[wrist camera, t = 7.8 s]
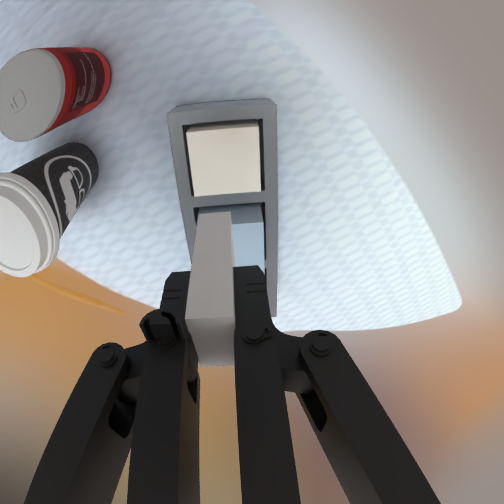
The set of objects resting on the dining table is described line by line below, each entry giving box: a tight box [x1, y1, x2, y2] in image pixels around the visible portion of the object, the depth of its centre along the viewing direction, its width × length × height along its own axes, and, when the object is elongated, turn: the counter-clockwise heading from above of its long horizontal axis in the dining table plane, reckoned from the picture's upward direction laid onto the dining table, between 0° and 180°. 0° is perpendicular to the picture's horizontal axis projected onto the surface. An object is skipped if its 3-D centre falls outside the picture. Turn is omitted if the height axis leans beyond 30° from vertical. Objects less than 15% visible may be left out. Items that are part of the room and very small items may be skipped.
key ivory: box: [186, 119, 261, 197], centre depth 27 cm, size 6×6×4 cm
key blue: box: [196, 202, 265, 274], centre depth 30 cm, size 6×6×4 cm
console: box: [167, 99, 278, 317], centre depth 33 cm, size 26×9×5 cm, turn 2°
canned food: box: [0, 47, 111, 142], centre depth 19 cm, size 8×8×11 cm
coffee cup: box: [0, 143, 98, 277], centre depth 23 cm, size 10×10×15 cm
